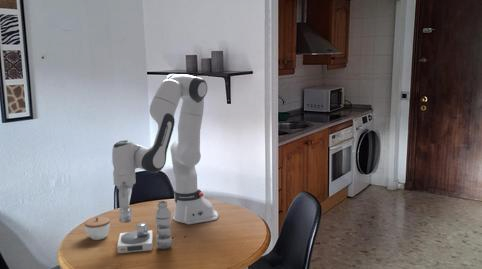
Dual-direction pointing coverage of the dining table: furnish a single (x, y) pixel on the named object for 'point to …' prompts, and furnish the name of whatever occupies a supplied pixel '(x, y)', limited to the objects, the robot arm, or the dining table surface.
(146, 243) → the kitchen scale
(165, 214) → the plastic bottle
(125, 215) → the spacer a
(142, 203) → the dining table surface
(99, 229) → the lidded jar
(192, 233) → the dining table surface
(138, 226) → the silver ball
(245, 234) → the dining table surface
